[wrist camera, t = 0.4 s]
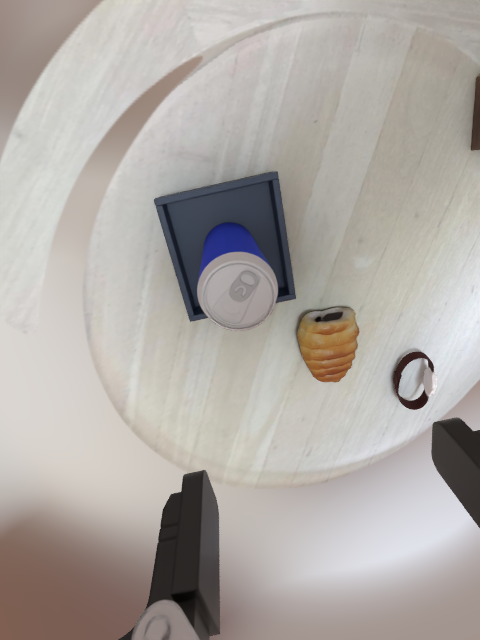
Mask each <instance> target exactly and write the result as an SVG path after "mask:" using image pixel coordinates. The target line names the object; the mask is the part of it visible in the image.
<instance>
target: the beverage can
mask: <svg viewBox="0 0 480 640" xmlns="http://www.w3.org/2000/svg"><path fill="white" fill-rule="evenodd" d="M277 295H278V284H277V279H276V276H275V274H274V272H273V270H272V268H271V267H270V265H269V263H268V262H267V260H266V258H265V257H264V255H263V253H262V252H261V250H260V248H259V247H258V245H257V243H256V242H255V240H254V238H253V237H252V235H251V234H250V232H249V231H248V230H247V229H246V228H245V227H243V226H241V225H239V224H237V223H231V222H228V223H222V224H219V225H217V226H216V227H214V228H213V229H212V230H211V231H210V232H209V233H208V235H207V237H206V239H205V242H204V248H203V254H202V260H201V267H200V273H199V279H198V286H197V296H198V301H199V304H200V306H201V308H202V310H203V312H204V313H205V314H206V315H207V317H208V318H209V319H211V320H212V321H213V322H214V323H215V324H217V325H218V326H220V327H222V328H225V329H228V330H234V331H243V330H248V329H251V328H254V327H256V326H258V325H260V324H261V323H263V322H264V321H265V320H266V319H267V318H268V316H269V315H270V314H271V312H272V310H273V308H274V305H275V303H276V300H277Z"/></svg>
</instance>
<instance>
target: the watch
mask: <svg viewBox="0 0 480 640" xmlns="http://www.w3.org/2000/svg"><path fill="white" fill-rule="evenodd" d="M418 358H425V359H428V368H427V369H425V372H424V378H423V383H424V391H423V393H422V395H421V396H420V397H419V398H418V399H416V400H413V401H408V400H405V399H403V398H401V397H400V396H399V394H398V388H399V382H400V379H401V373H402V371H403V369H404V368H405V366H406V365H407V364H408V363H409V362H411V361H413V360H415V359H418ZM394 384H395V390H396V393H397V396H398V398H399V400H400V402H401V403H402V404H403V405H404V406H405V407H406V408H409V409H413V410H416V409H420V408H422V407H423V406H424V405H425V404H426V403H427V401H428V398H429V396H430V395H433V394H434V393H435V392H436V388H437V380H436V375H435V372H434V366H433V363H432V362H431V360H430V359H429V358H428V357H427V355H426V354H424V353H422V352H412V353H409V354H407V355H406V356H405V357H403V358H402V360H401V361H400V363H399V364H398V366H397V368H396V371H395V374H394Z"/></svg>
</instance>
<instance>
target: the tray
mask: <svg viewBox="0 0 480 640" xmlns="http://www.w3.org/2000/svg"><path fill="white" fill-rule="evenodd" d="M154 202H155V205H156V209H157V212H158V215H159V219H160V222H161V226H162V229H163V232H164V236H165V239H166V242H167V246H168V249H169V252H170V256H171V259H172V263H173V266H174V269H175V273H176V276H177V279H178V283H179V286H180V290H181V293H182V296H183V300H184V303H185V306H186V310H187V313H188V316H189V320H190V322H191V321H196V320H200V319H205V318H208V317H207V315H206V314H205V313H204V312H203V310H202V308H201V306H200V304H199V301H198V296H197V286H198V279H199V273H200V267H201V260H202V254H203V248H204V242H205V239H206V237H207V235H208V233H209V232H210V231H211V230H212V229H213V228H214V227H216V226H217V225H219V224H222V223H228V222H231V223H237V224H239V225H241V226H243V227H245V228H246V229H247V230H248V231H249V232H250V234H251V235H252V237H253V238H254V240H255V242H256V243H257V245H258V247H259V248H260V250H261V252H262V253H263V255H264V257H265V258H266V260H267V262H268V263H269V265H270V267H271V268H272V270H273V272H274V274H275V276H276V279H277V284H278V295H277V300H276V303H278V302H283V301H287V300H292V299H296V295H295V288H294V281H293V274H292V267H291V260H290V254H289V247H288V240H287V233H286V226H285V219H284V212H283V205H282V198H281V191H280V185H279V179H278V172H268V173H264V174H260V175H255V176H251V177H246V178H242V179H237V180H233V181H229V182H224V183H220V184H215V185H211V186H207V187H202V188H198V189H193V190H189V191H184V192H180V193H176V194H171V195H167V196H162V197H159V198H156V199H154Z"/></svg>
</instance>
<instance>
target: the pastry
mask: <svg viewBox="0 0 480 640" xmlns="http://www.w3.org/2000/svg"><path fill="white" fill-rule="evenodd" d="M358 334H359V328H358V326H357V323H356V320H355V312H354V310H352V309H350V308H340V307H337V308H331V309H327V310H325V311H322V312H320V311H313V312H309V313H307V314H306V315H305V316H304V317H303V318H302V320H301V323H300V326H299V330H298V333H297V338H298V341H299V345H300V350H301V354H302V356H303V358H304V361H305V362H306V364H307V366H308V368H309V370H310V371H311V373H312V375H313V377H314V378H316V379H317V380H319V381H322V382H339V381H340V380H341V378H343V377H344V376H345V375H346V373H347V371H348V369H350V368H351V366H352V360H353V359H354V358H355V350H356V349H357V347H358V344H357V340H356V338H357V336H358Z"/></svg>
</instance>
